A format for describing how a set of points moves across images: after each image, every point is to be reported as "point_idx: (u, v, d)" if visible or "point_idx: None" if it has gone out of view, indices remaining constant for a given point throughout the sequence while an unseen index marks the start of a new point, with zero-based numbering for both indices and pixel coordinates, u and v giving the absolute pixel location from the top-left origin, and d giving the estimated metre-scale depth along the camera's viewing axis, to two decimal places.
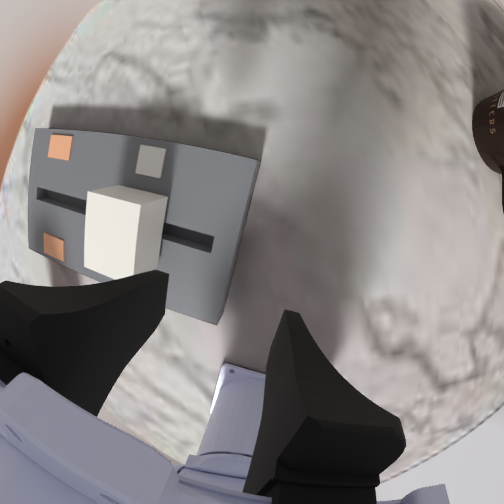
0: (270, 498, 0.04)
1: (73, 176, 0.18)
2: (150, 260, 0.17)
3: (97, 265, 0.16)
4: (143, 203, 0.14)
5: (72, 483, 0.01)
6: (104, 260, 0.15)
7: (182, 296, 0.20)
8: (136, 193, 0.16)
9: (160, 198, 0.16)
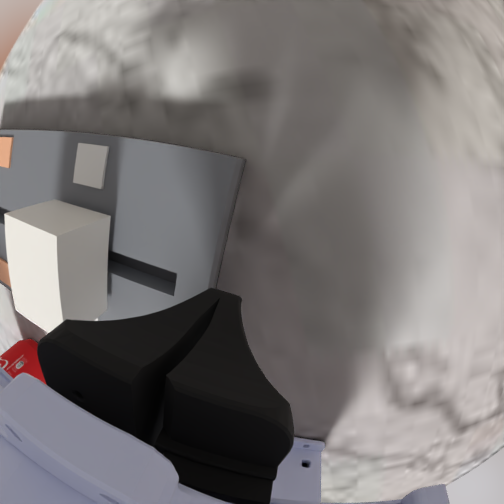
0: None
1: (13, 187, 0.12)
2: (92, 305, 0.11)
3: (27, 311, 0.10)
4: (63, 232, 0.08)
5: (72, 483, 0.01)
6: (32, 307, 0.09)
7: None
8: (67, 212, 0.10)
9: (96, 220, 0.10)
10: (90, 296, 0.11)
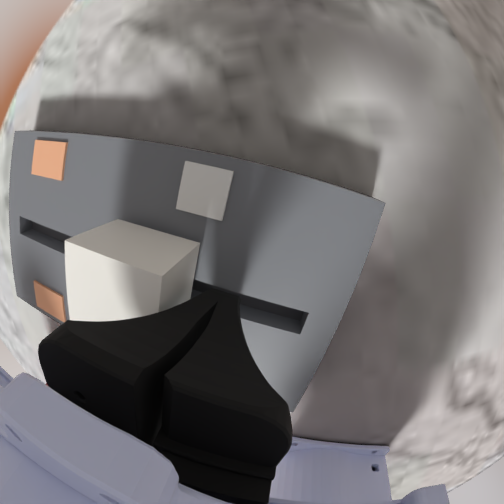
0: None
1: (69, 205, 0.12)
2: None
3: None
4: (165, 269, 0.08)
5: (72, 483, 0.01)
6: None
7: None
8: (148, 239, 0.10)
9: (190, 249, 0.10)
10: None
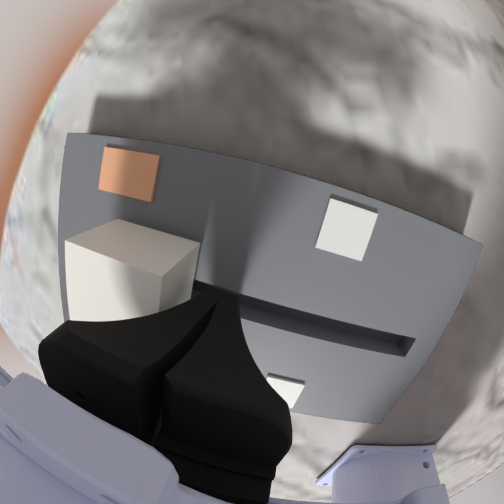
0: None
1: None
2: None
3: None
4: (165, 269, 0.08)
5: (72, 483, 0.01)
6: None
7: (348, 404, 0.13)
8: (148, 239, 0.10)
9: (190, 249, 0.10)
10: None
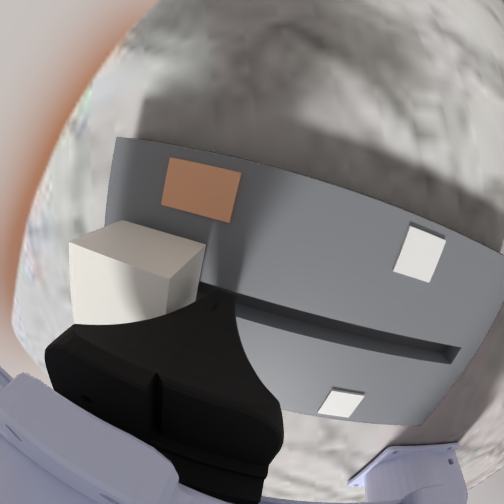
0: None
1: (240, 255, 0.11)
2: None
3: None
4: (172, 272, 0.08)
5: (72, 483, 0.01)
6: None
7: (398, 409, 0.13)
8: (153, 240, 0.10)
9: (196, 251, 0.10)
10: None
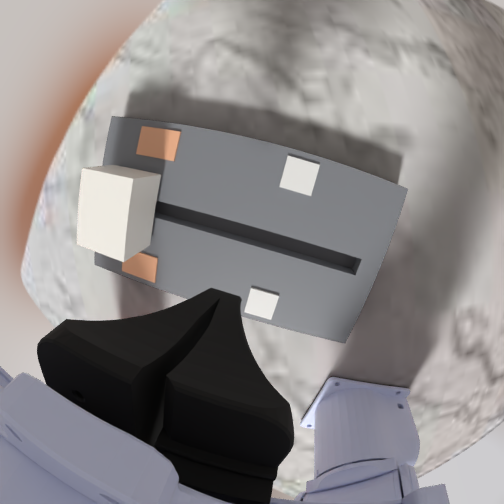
0: None
1: (180, 181, 0.18)
2: (142, 237, 0.17)
3: (89, 242, 0.15)
4: (136, 178, 0.14)
5: (72, 483, 0.01)
6: (97, 236, 0.15)
7: (316, 318, 0.19)
8: (130, 171, 0.16)
9: (153, 175, 0.16)
10: (142, 230, 0.17)
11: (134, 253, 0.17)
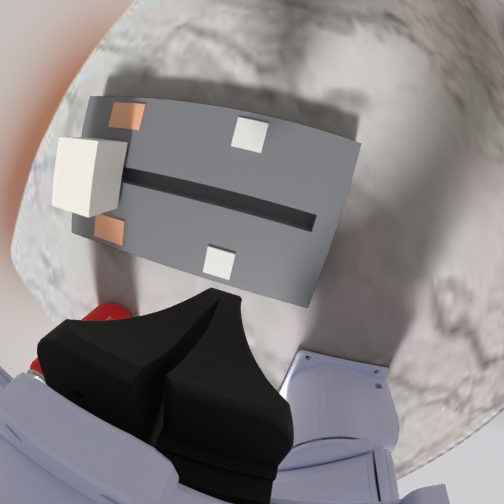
0: None
1: (144, 148, 0.18)
2: (108, 198, 0.18)
3: (62, 202, 0.16)
4: (101, 141, 0.15)
5: (72, 483, 0.01)
6: (68, 196, 0.16)
7: (274, 278, 0.20)
8: (100, 139, 0.17)
9: (119, 142, 0.17)
10: (108, 191, 0.17)
11: (100, 212, 0.17)
